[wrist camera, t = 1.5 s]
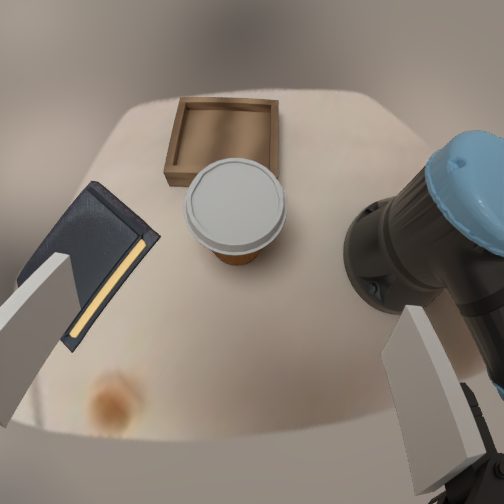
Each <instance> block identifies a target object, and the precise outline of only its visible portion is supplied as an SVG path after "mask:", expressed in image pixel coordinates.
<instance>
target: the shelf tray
mask: <svg viewBox="0 0 504 504" xmlns="http://www.w3.org/2000/svg"><path fill="white" fill-rule="evenodd" d="M278 105H279V100H266V99H249V98H223V97H180V101H179V105H178V109H177V113H176V117H175V121H174V125H173V130H172V134H171V139H170V143H169V148H168V152H167V157H166V162H165V167H164V175H165V177H166V179H167V182H168V184H169V186H181V187H189V186H190V185H191V183H192V181H193V180H194V178H195V177H196V176H197V175H198V173H199V172H201V171H202V170H203V169H204V168H206V167H207V166H208V165H210V164H212V163H214V162H216V161H219V160H223V159H227V158H244V159H248V160H252V161H255V162H257V163H259V164H261V165H263V166H264V167H266V168H267V169H268V170H269V171H270V172H271V173H273V174H274V176H275V177H276V179H277V178H278Z"/></svg>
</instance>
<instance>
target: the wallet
mask: <svg viewBox="0 0 504 504" xmlns="http://www.w3.org/2000/svg"><path fill="white" fill-rule="evenodd" d="M160 237H161V236H160V235H159V234H158V233H156V232H155V231H154V230H153V229H152V228H151V227H150V226H149V225H148V224H147V223H146V222H145V221H144V220H142V219H141V218H140V217H139V216H138V215H137V214H135V213H134V212H133V211H132V210H131V209H130V208H128V207H127V206H126V205H125V204H124V203H123V202H121V201H120V200H119V199H118V198H117V197H116V196H114V195H113V194H112V193H111V192H110V191H109V190H108V189H106V188H105V187H104V186H103V185H101V184H100V183H99V182H96V181H91V182H90V183H89V184H88V185H87V187H86V188H85V189H84V190H83V191H82V192H81V193H80V194H79V196H78V197H77V198H76V199H75V200H74V202H73V203H72V204H71V205H70V207H69V208H68V209H67V210H66V212H65V213H64V214H63V215H62V217H61V218H60V219H59V221H58V222H57V223H56V225H55V226H54V227H53V229H52V230H51V231H50V233H49V234H48V235H47V236H46V238H45V239H44V240H43V242H42V243H41V244H40V246H39V247H38V249H37V250H36V251H35V253H34V254H33V256H32V257H31V258H30V260H29V261H28V262H27V264H26V265H25V267H24V268H23V269H22V271H21V273H20V275H19V276H18V278H17V284H18V288H19V287H20V286H21V285H22V284H23V283H24V282H25V281H26V280H27V279H28V278H29V277H30V276H31V275H32V274H33V273H34V272H35V271H36V270H37V269H38V268H39V267H40V266H41V265H42V264H43V263H44V262H45V261H46V260H47V259H49V258H50V257H51V256H52V255H53V254H54V253H55V252H57V253H62V254H67V255H70V260H71V265H72V271H73V276H74V281H75V286H76V290H77V295H78V299H79V304H80V308H81V310H80V311H79V313H78V314H77V315H76V317H75V318H74V320H73V321H72V323H71V324H70V325H69V327H68V328H67V330H66V331H65V333H64V334H63V335H62V337H61V338H60V340H61V341H62V342H63V343H64V344H65V346H66V347H67V348H68V349H69V350H70V351H71V352H72V353H73V351H74V350H75V349H76V348H77V346H78V345H79V344H80V343H81V341H82V340H83V338H84V336H85V335H86V333H87V332H88V330H89V329H90V327H91V326H92V325H93V323H94V322H95V320H96V319H97V318H98V316H99V315H100V314H101V312H102V311H103V310H104V308H105V307H106V306H107V304H108V303H109V302H110V300H111V299H112V298H113V296H114V295H115V294H116V292H117V291H118V290H119V288H120V287H121V286H122V284H123V283H124V282H125V281H126V279H127V278H128V277H129V276H130V274H131V273H132V272H133V270H134V269H135V268H136V267H137V265H138V264H139V263H140V262H141V260H142V259H143V258H144V257H145V255H146V254H147V253H148V252H149V251H150V249H151V248H152V247H153V246H154V244H155V243H156V242H157V241H158V240H159V238H160Z"/></svg>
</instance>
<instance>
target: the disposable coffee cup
mask: <svg viewBox="0 0 504 504" xmlns="http://www.w3.org/2000/svg"><path fill="white" fill-rule="evenodd" d="M286 215H287V200H286V195H285V192H284V189H283V188H282V186H281V184H280V182H279V181H278V180H277V179H276V177H275V176H274V174H273V173H271V172H270V171H269V170H268V169H267V168H266V167H264V166H263V165H261V164H259V163H257V162H255V161H252V160H248V159H244V158H227V159H223V160H219V161H216V162H214V163H212V164H210V165H208V166H207V167H206V168H204V169H203V170H202V171H201V172H199V173H198V175H197V176H196V177H195V178H194V180H193V181H192V183H191V185H190V186H189V188H188V190H187V193H186V195H185V199H184V217H185V221H186V224H187V226H188V228H189V230H190V232H191V234H192V235H193V236H194V237H195V238H196V240H197V241H198V242H200V243H201V244H202V245H203V246H205V247H207V248H208V249H210V250H212V251H213V253H214V254H215V255H216V256H217V257H218V258H219V259H220V260H221V261H223V262H225V263H227V264H230V265H243V264H246V263H248V262H250V261H252V260H253V259H254V258H256V256H257V255H258V254H259V252H260V251H261V250H262V248H263V247H265V246H266V245H268V244H269V243H270V242H272V241H273V240H274V238H275V237H276V236H277V235H278V234H279V232H280V231H281V229H282V227H283V225H284V223H285V219H286Z"/></svg>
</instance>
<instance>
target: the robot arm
mask: <svg viewBox="0 0 504 504" xmlns="http://www.w3.org/2000/svg"><path fill="white" fill-rule="evenodd" d="M344 263H345V268H346V271H347V274H348V277H349V279H350V281H351V283H352V285H353V287H354V288H355V290H356V291H357V293H358V294H359V295H360V296H361V297H362V298H363V299H364V300H365V301H366V302H367V303H368V304H370V305H371V306H372V307H374V308H376V309H378V310H380V311H383V312H386V313H390V314H401V316H400V318H399V320H398V322H397V324H396V326H395V328H394V330H393V332H392V334H391V336H390V338H389V340H388V342H387V344H386V346H385V348H384V349H383V351H382V353H381V358H382V361H383V364H384V368H385V371H386V375H387V378H388V381H389V385H390V389H391V392H392V396H393V400H394V403H395V407H396V411H397V415H398V419H399V422H400V427H401V431H402V435H403V439H404V443H405V448H406V452H407V457H408V461H409V466H410V471H411V476H412V481H413V487H414V492H415V495H421V494H426V493H430V492H434V491H436V490H437V489H439V488H440V487H441V486H443V485H445V489H446V491H444V492H443V493H441V494H439V495H438V496H436V497H435V498H433V499H431V501H430V502H429V503H428V504H433V503H435V502H436V501H438V502H437V504H504V454H503V453H497V450H496V448H495V445H494V443H493V440H492V437H491V435H490V432H489V429H488V427H487V424H486V422H485V419H484V417H482V412H481V409H480V407H478V402H477V400H476V397H475V395H474V393H473V392H472V391H471V390H470V388H469V387H468V386H467V385H466V383H459V381H458V379H457V376H456V374H455V372H454V370H453V368H452V365H451V363H450V361H449V359H448V357H447V355H446V353H445V351H444V349H443V347H442V345H441V343H440V340H439V338H438V336H437V335H436V333H435V331H434V329H433V327H432V325H431V323H430V321H429V319H428V317H427V315H426V313H425V312H424V310H423V308H424V307H425V306H427V305H429V304H430V303H431V302H432V301H433V300H434V299H435V298H436V297H437V296H438V295H439V294H440V293H441V292H442V291H443V290H444V288H445V287H447V289H448V291H449V293H450V294H451V296H452V298H453V300H454V301H455V303H456V305H457V307H458V309H459V310H460V313H461V315H462V317H463V319H464V320H465V322H466V324H467V326H468V328H469V330H470V332H471V334H472V336H473V338H474V340H475V343H476V345H477V347H478V349H479V351H480V353H481V355H482V358H483V360H484V362H485V364H486V368H487V373H488V376H489V378H490V380H491V381H492V383H493V385H494V386H495V387H496V388H497V390H498V392H499V395H500V397H501V398H502V400H503V401H504V139H503V138H501V137H497V136H496V135H494V134H492V133H489V132H486V131H480V130H474V131H467V132H463V133H461V134H459V135H457V136H455V137H454V138H453V139H452V140H451V141H450V142H449V143H448V144H447V145H446V146H444V147H443V148H442V149H440V150H438V151H436V152H435V153H434V154H433V155H432V156H431V157H430V158H429V161H428V162H427V164H426V166H425V167H424V168H423V169H422V170H421V171H420V172H419V173H418V174H417V175H416V176H415V177H414V178H413V179H412V181H411V182H410V183H409V184H408V185H407V186H406V187H405V188H404V189H403V190H402V191H401V192H400V193H399V194H398V195H397V196H395V197H391V198H387V199H383V200H380V201H377V202H374V203H372V204H371V205H369V206H368V207H366V208H365V209H364V210H363V211H362V212H361V213H360V214H359V215H358V216H357V217H356V218H355V220H354V221H353V222H352V224H351V225H350V227H349V229H348V232H347V234H346V238H345V242H344ZM80 310H81V308H80V304H79V299H78V295H77V290H76V286H75V281H74V276H73V271H72V265H71V260H70V255H67V254H62V253H57V252H55V253H54V254H53V255H52V256H51V257H50V258H49V259H47V260H46V261H45V262H44V263H43V264H42V265H41V266H40V267H39V268H38V269H37V270H36V271H35V272H34V273H33V274H32V275H31V276H30V277H29V278H28V279H27V280H26V281H25V282H24V283H23V284H22V285H21V286H20V287H19V288H18V289H17V290H16V291H15V292H14V293H13V294H12V295H11V297H10V298H9V299H8V300H7V301H6V302H5V303H4V304H3V305H2V306H1V307H0V425H1V426H3V427H4V428H6V426H7V424H8V423H9V421H10V419H11V417H12V416H13V414H14V412H15V410H16V408H17V407H18V405H19V403H20V402H21V400H22V398H23V396H24V395H25V393H26V391H27V390H28V388H29V386H30V385H31V383H32V382H33V380H34V378H35V377H36V375H37V373H38V372H39V370H40V369H41V367H42V366H43V364H44V362H45V361H46V359H47V358H48V356H49V355H50V353H51V352H52V350H53V349H54V347H55V346H56V344H57V343H58V341H59V340H60V338H61V337H62V335H63V334H64V333H65V331H66V330H67V328H68V327H69V325H70V324H71V323H72V321H73V320H74V318H75V317H76V315H77V314H78V313H79V311H80Z"/></svg>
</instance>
